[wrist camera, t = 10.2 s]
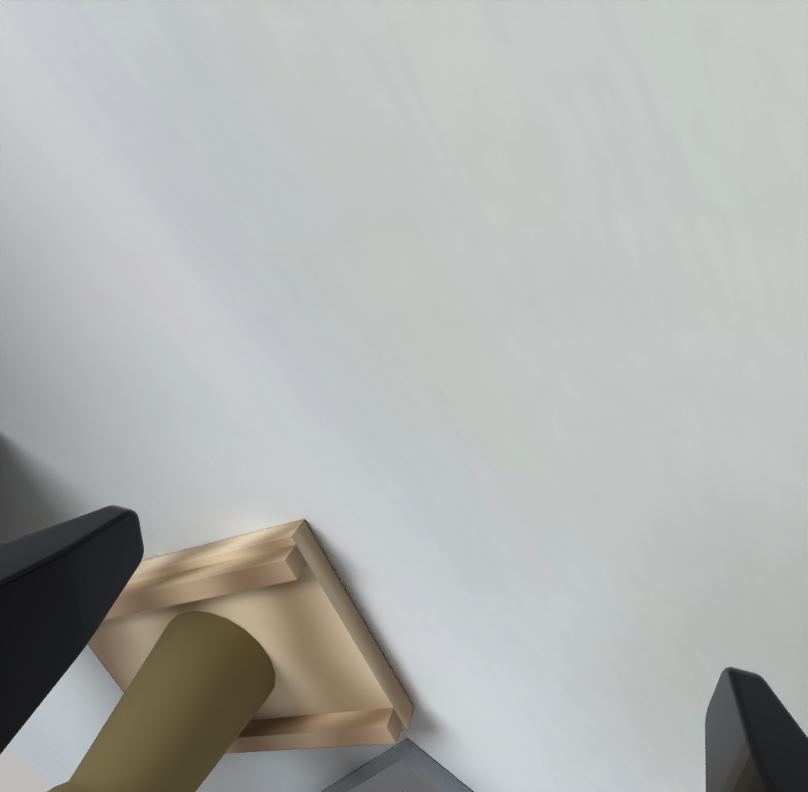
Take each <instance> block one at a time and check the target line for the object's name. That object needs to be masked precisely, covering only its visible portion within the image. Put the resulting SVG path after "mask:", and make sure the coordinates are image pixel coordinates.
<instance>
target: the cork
mask: <svg viewBox="0 0 808 792" xmlns="http://www.w3.org/2000/svg"><path fill="white" fill-rule="evenodd" d="M274 687H275V671H274V668H273V665H272V662H271V659H270V657H269V656H268V654H267V653H266V652H265V650H264V649H263V647H262V646H261V644H260V643H259V642H258V641H257V640H256V639H255V638H254V637H253V636H251V635H250V634H249V633H248V632H247V631H246V630H245V629H243V628H242V627H240V626H239V625H237V624H235V623H234V622H232V621H230V620H229V619H227V618H224V617H221V616H218V615H215V614H213V613H210V612H200V611H190V612H185V613H181V614H178V615H177V616H176V617H175V618H173V619H172V620H171V621H170V622H169V623H168V625H167V626H166V628H165V629H164V631H163V633H162V634H161V636H160V637H159V639H158V641H157V642H156V644H155V645H154V647H153V649H152V650H151V652H150V653H149V655H148V656H147V658H146V660H145V661H144V663H143V664H142V666H141V668H140V669H139V671H138V672H137V674H136V676H135V677H134V679H133V680H132V682H131V683H130V685H129V687H128V688H127V690H126V691H125V693H124V695H123V696H122V698H121V699H120V701H119V702H118V704H117V706H116V707H115V709H114V710H113V712H112V714H111V715H110V717H109V718H108V720H107V722H106V723H105V725H104V726H103V728H102V729H101V731H100V733H99V734H98V736H97V737H96V739H95V741H94V742H93V744H92V745H91V747H90V749H89V750H88V752H87V753H86V755H85V756H84V758H83V760H82V761H81V763H80V764H79V766H78V768H77V769H76V771H75V772H74V774H73V775H72V777H71V779H70V780H69V781H68V782H66V783H63V784H61V785H58V786H56V787H54V788H52V789H51V790H49V791H48V792H195V791H196V790H197V789H198V787H199V786H200V785H201V784H202V782H203V781H204V780H205V778H206V777H207V776H208V775H209V773H210V772H211V771H212V769H213V768H214V767H215V765H216V764H217V763H218V762H219V760H220V759H221V758H222V756H223V755H224V754H225V753H226V751H227V750H228V749H229V747H230V746H231V745H232V744H233V742H234V741H235V740H236V738H237V737H238V736H239V734H240V733H241V732H242V731H243V729H244V728H245V727H246V725H247V724H248V723H249V722H250V720H251V719H252V718H253V716H254V715H255V714H256V713H257V711H258V710H259V709H260V707H261V706H262V705H263V703H264V702H265V701H266V700H267V698H268V697H269V695H270V694H271V692H272V690H273V689H274Z"/></svg>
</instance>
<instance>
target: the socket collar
mask: <svg viewBox="0 0 808 792" xmlns="http://www.w3.org/2000/svg"><path fill="white" fill-rule="evenodd" d="M404 791H407V792H472V791H471V790H470V789H469V788H467V787H466V786H465V785H464V784H462V783H461V782H460V781H459V780H458V779H456V778H455V777H454V776H453V775H451V774H450V773H449V772H448V771H446V770H445V769H444V768H443V767H442V766H440V765H439V764H438V763H437V762H435V761H434V760H433V759H432V758H431V757H429V756H428V755H427V754H426V753H424V752H423V751H422V750H421V749H419V748H418V747H417V746H416V745H415V744H413V743H412V742H411V741H410V740H408V739H406V740H404V741H402V742H401V743H399V744H398V745H396V746H394V747H393V748H391V749H390V750H388V751H386V752H385V753H383V754H381V755H380V756H378V757H377V758H375V759H373V760H372V761H370V762H369V763H367V764H365V765H364V766H362V767H361V768H359V769H357V770H356V771H354V772H353V773H351V774H349V775H348V776H346V777H344V778H343V779H341V780H340V781H338V782H336V783H335V784H333V785H332V786H330V787H328V788H327V789H325V790H324V791H322V792H404Z"/></svg>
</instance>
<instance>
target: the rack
mask: <svg viewBox="0 0 808 792" xmlns="http://www.w3.org/2000/svg"><path fill="white" fill-rule="evenodd" d="M190 611H200V612H210V613H213V614H215V615H218V616H221V617H224V618H227V619H229V620H230V621H232V622H234V623H235V624H237V625H239V626H240V627H242V628H243V629H245V630H246V631H247V632H248V633H249V634H250V635H251V636H253V637H254V638H255V639H256V640H257V641H258V642H259V643H260V644H261V646H262V647H263V649H264V650H265V652H266V653H267V654H268V656H269V657H270V659H271V662H272V665H273V668H274V671H275V687H274V689H273V690H272V692H271V694H270V695H269V697H268V698H267V700H266V701H265V702H264V703H263V705H262V706H261V707H260V709H259V710H258V711H257V713H256V714H255V715H254V716H253V718H252V719H251V720H250V722H249V723H248V724H247V725H246V727H245V728H244V729H243V731H242V732H241V733H240V734H239V736H238V737H237V738H236V740H235V741H234V742H233V744H232V745H231V746H230V747H229V749H228V750H227V751H226V753H241V752H258V751H275V750H292V749H309V748H326V747H343V746H360V745H377V744H394V743H397V740H398V737H399V734H400V731H402V730H407V728H408V725H409V723H410V720H411V717H412V714H413V711H414V707H413V705H412V703H411V701H410V700H409V698H408V696H407V695H406V693H405V691H404V689H403V688H402V686H401V684H400V683H399V681H398V679H397V677H396V676H395V674H394V672H393V671H392V669H391V667H390V665H389V664H388V662H387V660H386V659H385V657H384V655H383V653H382V652H381V650H380V648H379V647H378V645H377V643H376V642H375V640H374V638H373V636H372V635H371V633H370V631H369V630H368V628H367V626H366V624H365V623H364V621H363V619H362V618H361V616H360V614H359V612H358V611H357V609H356V607H355V606H354V604H353V602H352V600H351V599H350V597H349V595H348V594H347V592H346V590H345V588H344V587H343V585H342V583H341V582H340V580H339V578H338V576H337V575H336V573H335V571H334V570H333V568H332V566H331V564H330V563H329V561H328V559H327V558H326V556H325V554H324V552H323V551H322V549H321V547H320V546H319V544H318V542H317V540H316V539H315V537H314V535H313V534H312V532H311V530H310V529H309V527H308V525H307V523H306V522H305V520H304V519H303V520H299V521H296V522H292V523H288V524H284V525H280V526H276V527H272V528H268V529H265V530H261V531H257V532H253V533H249V534H245V535H241V536H237V537H234V538H230V539H226V540H222V541H218V542H214V543H210V544H206V545H203V546H199V547H195V548H191V549H187V550H183V551H179V552H175V553H172V554H168V555H164V556H160V557H156V558H152V559H148V560H144V561H141V563H140V564H139V566H138V568H137V569H136V571H135V572H134V574H133V575H132V577H131V579H130V580H129V582H128V583H127V585H126V586H125V588H124V589H123V591H122V592H121V594H120V595H119V597H118V599H117V600H116V602H115V603H114V605H113V606H112V608H111V609H110V611H109V612H108V614H107V615H106V617H105V619H104V620H103V622H102V623H101V625H100V626H99V628H98V629H97V631H96V632H95V634H94V635H93V637H92V638H91V639H90V641H89V642H88V645H89V647H90V648H91V649H92V651H93V652H94V653H95V655H96V656H97V657H98V659H99V660H100V661H101V663H102V664H103V665H104V667H105V668H106V669H107V671H108V672H109V673H110V675H111V676H112V678H113V679H114V680H115V682H116V683H117V684H118V686H119V687H120V688H121V690H122V691H123V692H124V693H125V691H126V690H127V688H128V687H129V685H130V683H131V682H132V680H133V679H134V677H135V676H136V674H137V672H138V671H139V669H140V668H141V666H142V664H143V663H144V661H145V660H146V658H147V656H148V655H149V653H150V652H151V650H152V649H153V647H154V645H155V644H156V642H157V641H158V639H159V637H160V636H161V634H162V633H163V631H164V629H165V628H166V626H167V625H168V623H169V622H170V621H171V620H172V619H173V618H175V617H176V616H177V615H178V614H181V613H185V612H190Z"/></svg>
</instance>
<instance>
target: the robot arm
mask: <svg viewBox="0 0 808 792" xmlns="http://www.w3.org/2000/svg"><path fill="white" fill-rule="evenodd" d="M143 553H144V546H143V540H142V534H141V529H140V523H139V517H138V515H137V513H136V512H135V511H133V510H131V509H127V508H124V507H120V506H114V505H112V506H108V507H105V508H102V509H99V510H97V511H94V512H91V513H88V514H85V515H83V516H80V517H77V518H74V519H72V520H69V521H66V522H63V523H61V524H58V525H55V526H52V527H50V528H47V529H44V530H41V531H39V532H36V533H33V534H30V535H27V536H25V537H22V538H19V539H16V540H14V541H11V542H8V543H5V544H3V545H0V754H1V753H2V752H3V750H4V749H5V748H6V747H7V745H8V744H9V743H10V741H11V740H12V739H13V738H14V736H15V735H16V734H17V733H18V731H19V730H20V729H21V728H22V726H23V725H24V724H25V723H26V721H27V720H28V719H29V718H30V716H31V715H32V714H33V712H34V711H35V710H36V709H37V707H38V706H39V705H40V704H41V702H42V701H43V700H44V699H45V697H46V696H47V695H48V694H49V692H50V691H51V690H52V688H53V687H54V686H55V685H56V683H57V682H58V681H59V680H60V678H61V677H62V676H63V675H64V673H65V672H66V671H67V670H68V668H69V667H70V666H71V665H72V663H73V662H74V661H75V659H76V658H77V657H78V656H79V654H80V653H81V652H82V650H83V649H84V648H85V646H86V645H87V644H88V642H89V641H90V639H91V638H92V637H93V635H94V634H95V632H96V631H97V629H98V628H99V626H100V625H101V623H102V622H103V620H104V619H105V617H106V615H107V614H108V612H109V611H110V609H111V608H112V606H113V605H114V603H115V602H116V600H117V599H118V597H119V595H120V594H121V592H122V591H123V589H124V588H125V586H126V585H127V583H128V582H129V580H130V579H131V577H132V575H133V574H134V572H135V571H136V569H137V568H138V566H139V564H140V563H141V560H142V557H143ZM705 749H706V792H808V737H807V736H806V735H805V733H804V732H803V731H802V729H801V728H800V727H799V725H798V724H797V723H796V721H795V720H794V719H793V717H792V716H791V715H790V713H789V712H788V711H787V709H786V708H785V707H784V705H783V704H782V703H781V701H780V700H779V699H778V697H777V696H776V695H775V693H774V692H773V691H772V689H771V688H770V686H769V685H768V684H767V682H766V681H765V680H764V679H763V678H762V677H761V676H760V675H758V674H756V673H752V672H748V671H745V670H741V669H737V668H733V667H727V668H725V669H724V671H723V672H722V674H721V676H720V678H719V681H718V683H717V686H716V688H715V691H714V693H713V696H712V698H711V701H710V703H709V706H708V709H707V713H706V722H705Z"/></svg>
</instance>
